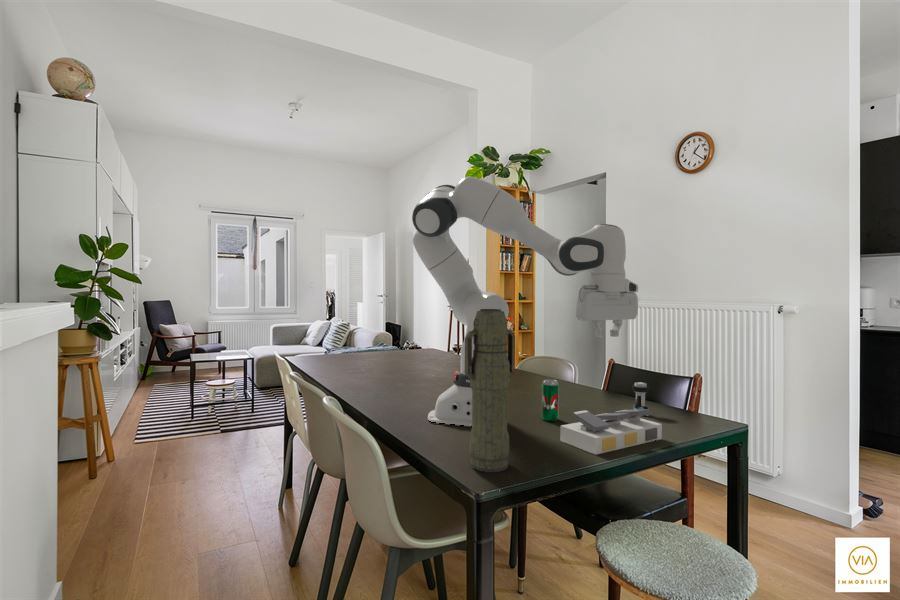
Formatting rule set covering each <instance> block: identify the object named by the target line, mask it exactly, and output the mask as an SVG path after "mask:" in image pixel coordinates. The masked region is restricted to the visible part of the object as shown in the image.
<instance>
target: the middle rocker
mask: <svg viewBox="0 0 900 600" xmlns="http://www.w3.org/2000/svg"><path fill="white" fill-rule="evenodd" d="M594 415H595V416H596V417H598V418H600V419H601V420H621V419H626V418H631V416H630V413H614V412H613V413H610V412H607V413H606V412H605V413H601V414H600V413H599V414H594Z"/></svg>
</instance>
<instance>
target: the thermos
mask: <svg viewBox="0 0 900 600" xmlns="http://www.w3.org/2000/svg"><path fill="white" fill-rule="evenodd" d="M465 335H466V334H465ZM515 336H516V335H515V334H514V332H513V330H512V329H510V328H509V329H508V319H507V320H506V317H505V313H504V311H501V309H480V311H477V313H476V316H475V319H474V329H473V331H469V332H468V334H467V335H466V337H464V339H465V374H466V375H467V376H468V377H469V378H470V387H471V389H472V427H471V430H470V434H469V441H468V442H469V443H468V444H469V446H468V447H469V451H468V452H469V466H470V465H471V466H470V467H471V469H473V468H474V470H475V469H477V470H476V471H478V470H479V471H478V472H483V471H484V473H498V472H502V471H505V470H507V469H508V468H509V456H510V434H509V432H508V391H509V389H510V383H511V382H510V381H511V380H510V378H512V376H514V375H515V366H516V365H515V364H516V363H515V362H516V361H515V359H516V357H515V356H516V355H515V354H516V352H515V350H516V349H515V347H516V345H515V344H516V343H515V342H516V337H515ZM472 337H473V344H474V350H473V358H472Z"/></svg>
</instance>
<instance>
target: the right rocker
mask: <svg viewBox="0 0 900 600" xmlns="http://www.w3.org/2000/svg"><path fill="white" fill-rule="evenodd" d="M613 413H630V416H640V417H643V416H642V415H647V414H648V415H651V414H652V412H651V409H649V408H648V409H641V410H633V409H623V410H617V411H613Z"/></svg>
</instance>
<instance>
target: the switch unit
mask: <svg viewBox="0 0 900 600" xmlns="http://www.w3.org/2000/svg"><path fill="white" fill-rule="evenodd" d="M603 421H604V422H606V423H608V424H609V429H606V430H601V431H596V432H594V431H593V430H591V429H589V428H588V427H586V426H585V425H583V424H582V423H580V422H579V421H577V422H573V423H568V424H562V425H560V428H559V429H560V431H559V432H560V434H559V435H560V438H559V439H560V440H559V441H560V442H563V443H565V444H568V445H570V446H573V447H575V448H578V449H579V450H582V451H585V452H588V453H591V454H593V455H600V454H605V453H608V452H615V451H618V450H621V449H626V448H629V447H634V446H635V447H636V446H639V445H641V444H642V445H643V444H646V443H652V442H654V441H655V440H656V441H659V440H662V438H663V436H662V435H663V432H662V431H663V424H662V423H659V422H656V421H652V420H648V419H645V418H641V416H631V418H626V419H621V420H603ZM656 441H655V442H656Z"/></svg>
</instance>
